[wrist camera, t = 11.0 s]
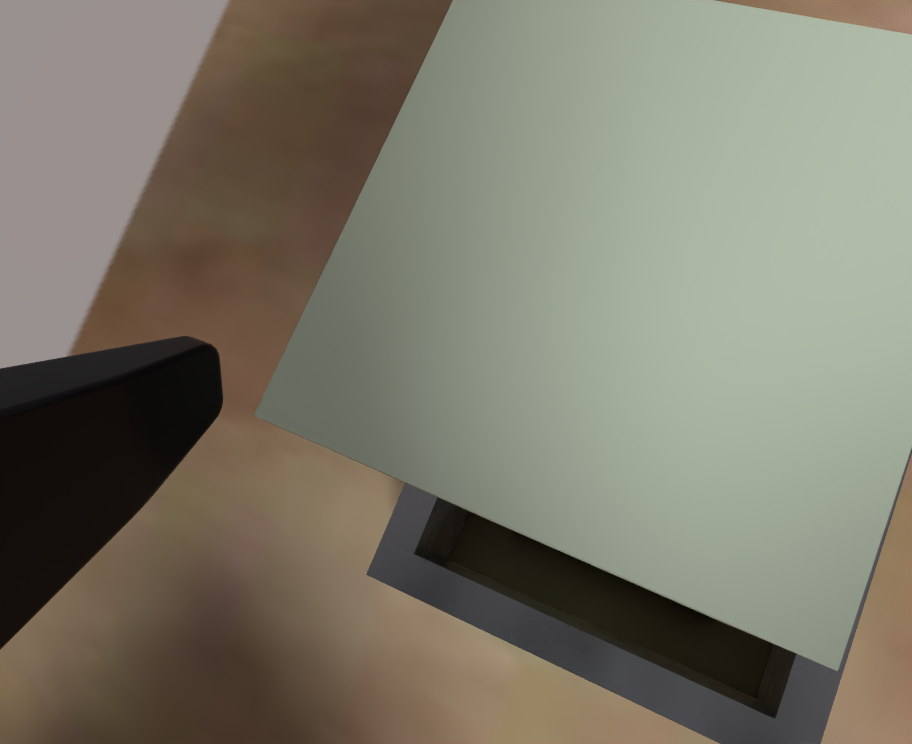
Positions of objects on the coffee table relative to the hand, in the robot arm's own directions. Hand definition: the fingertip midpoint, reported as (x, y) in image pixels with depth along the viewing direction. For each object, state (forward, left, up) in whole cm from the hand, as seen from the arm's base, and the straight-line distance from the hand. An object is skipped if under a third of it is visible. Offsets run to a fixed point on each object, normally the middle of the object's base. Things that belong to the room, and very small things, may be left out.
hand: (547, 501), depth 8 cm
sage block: (+2, +1, -11) cm, 11 cm away
